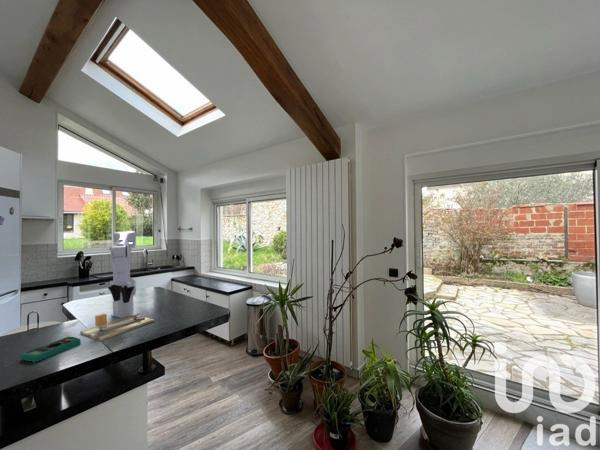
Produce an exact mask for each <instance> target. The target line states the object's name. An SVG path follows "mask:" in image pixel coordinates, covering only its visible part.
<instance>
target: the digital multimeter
mask: <svg viewBox="0 0 600 450" xmlns="http://www.w3.org/2000/svg"><path fill="white" fill-rule="evenodd" d="M80 345H81V339H80V338H78V337H75V336H67V337H64V338H61V339H58V340H56V341H53V342H51V343H48V344H44V345H43V346H42V345H41V346H40V347H37V348H34V349H30V350H28V351H25V352H22V354H21V360H22V359H23V360H22V361H24V360H26V361H25V362H27V361H32V362H31V363H37V362H36V361H38V362H40V361H43V360H45V359H47V357H48V358H49V357H52V356H54V355H57V354H60V353H62V352H64V351H67V350H69V349H71V348H74V347H78V346H80ZM42 359H43V360H42ZM39 360H40V361H39Z"/></svg>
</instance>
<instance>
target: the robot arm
mask: <svg viewBox="0 0 600 450" xmlns="http://www.w3.org/2000/svg"><path fill="white" fill-rule="evenodd" d="M136 234H137V233H136V231H135V230H132V231H131V230H130V231H129V230H128V231H114V232H113V234H112V235H113V247H111V248H110V257H111V263H112V277H113V278H112V279H113V280H110V281H109V286H108V287H107V289H108V290H109V292H110V295H111V297H112V299H113V302H112V313H111V315H110V316H112V317H116V318H119V319H122V318H125V317H128V316H130V315H131V314H134V313H139V312H138V311H135V310H134V305H135V304H134V296H136V295H137V282H136V279H134V278H133V277H131V254H132V253H131V252H132V250H133V249H135V248H136V246H137V245H136V244H137V243H136V241H137V235H136Z"/></svg>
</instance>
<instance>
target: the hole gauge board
mask: <svg viewBox="0 0 600 450" xmlns="http://www.w3.org/2000/svg"><path fill="white" fill-rule="evenodd" d="M154 322H155V319H154V318H150V317H146V316H145V317H144V316H143V315H140V313H139V312H138V313H134V314H131V315H130V316H127V317H124V318H119V319H115V320H113V321H109V322H107V326H108V327H109V329H106V330H104V329H103V331H100V329H96V326H93V327H90V328H87V329H84V330H80V332H79V333H80V334H81V335H83V336H86V337H88V338H91V339H95V340H97V341H101V342H102V341H104V340H106V339H109V338H112V337H115V336H118V335H121V334H123V333H126V332H129V331H132V330H135V329H137V328H140V327H142V326H145V325H148V324H151V323H154Z"/></svg>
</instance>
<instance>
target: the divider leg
mask: <svg viewBox="0 0 600 450" xmlns="http://www.w3.org/2000/svg"><path fill="white" fill-rule="evenodd" d="M107 315H108V314H107V313H104V312H103V313H101V314H100V313H99V314H97V315H95V317H94V321H95V327H96V329H100V331H103V329H104V330H106V329H109V327H108V326H107V323H108V320H107V319H108V317H107Z"/></svg>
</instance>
